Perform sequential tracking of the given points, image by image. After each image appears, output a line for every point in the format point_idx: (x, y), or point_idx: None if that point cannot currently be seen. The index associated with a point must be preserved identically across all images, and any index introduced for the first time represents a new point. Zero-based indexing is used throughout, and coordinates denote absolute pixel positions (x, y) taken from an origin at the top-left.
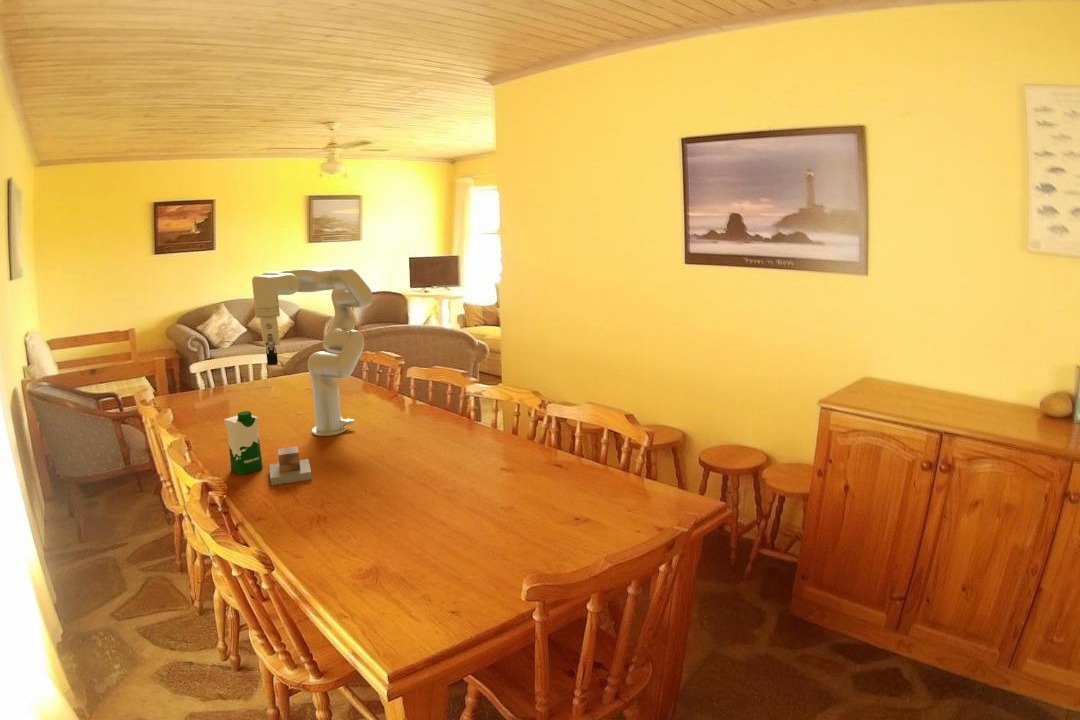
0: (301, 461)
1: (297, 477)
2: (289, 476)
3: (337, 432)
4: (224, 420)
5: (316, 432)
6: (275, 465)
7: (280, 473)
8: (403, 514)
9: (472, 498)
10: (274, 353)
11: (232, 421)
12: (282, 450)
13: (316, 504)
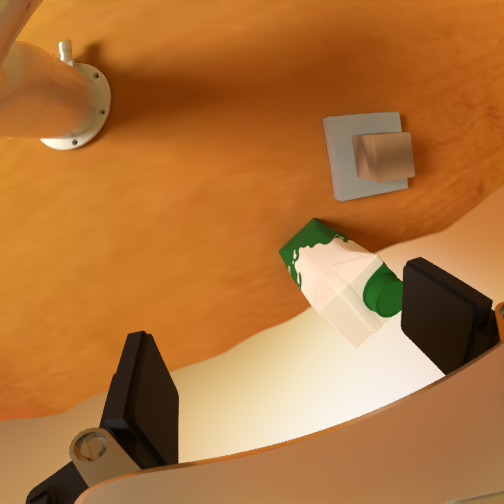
0: (340, 131)
1: None
2: None
3: (103, 75)
4: (359, 343)
5: (94, 130)
6: (350, 187)
7: None
8: (487, 26)
9: None
10: (486, 320)
11: (389, 317)
12: (391, 170)
13: (466, 113)
